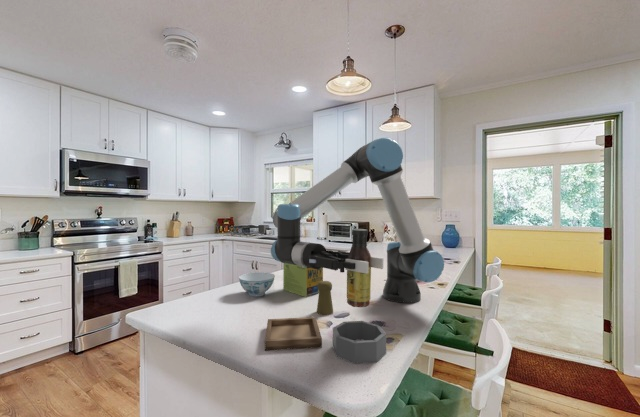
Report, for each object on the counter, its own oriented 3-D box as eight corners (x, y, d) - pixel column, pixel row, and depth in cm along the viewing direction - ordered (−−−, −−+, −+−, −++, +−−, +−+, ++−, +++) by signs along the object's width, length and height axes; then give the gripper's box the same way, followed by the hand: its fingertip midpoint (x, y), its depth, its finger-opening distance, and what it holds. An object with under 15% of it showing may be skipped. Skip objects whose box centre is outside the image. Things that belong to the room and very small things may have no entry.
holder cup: (374, 337, 84) (375, 320, 84) (391, 361, 71) (391, 340, 71) (330, 339, 82) (330, 322, 82) (339, 364, 69) (339, 344, 69)
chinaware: (231, 296, 122) (231, 278, 122) (255, 287, 135) (255, 270, 135) (259, 301, 115) (259, 282, 115) (281, 291, 128) (281, 274, 128)
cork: (331, 316, 100) (331, 284, 100) (314, 314, 101) (314, 283, 101) (334, 309, 106) (334, 279, 106) (318, 308, 107) (318, 279, 107)
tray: (315, 324, 92) (315, 316, 92) (321, 347, 78) (321, 338, 78) (267, 327, 91) (267, 319, 91) (264, 350, 76) (264, 341, 76)
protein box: (306, 297, 120) (306, 260, 120) (282, 290, 131) (282, 255, 131) (323, 292, 128) (323, 257, 128) (299, 285, 139) (299, 253, 138)
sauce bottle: (344, 300, 79) (345, 228, 79) (367, 300, 80) (367, 228, 80) (349, 309, 73) (349, 230, 73) (373, 308, 73) (374, 230, 73)
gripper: (330, 262, 95) (394, 273, 80) (285, 272, 81) (352, 288, 66) (330, 240, 95) (394, 246, 80) (285, 246, 81) (352, 255, 66)
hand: (375, 265), depth 73 cm, fingers closed on sauce bottle, 6 cm apart
